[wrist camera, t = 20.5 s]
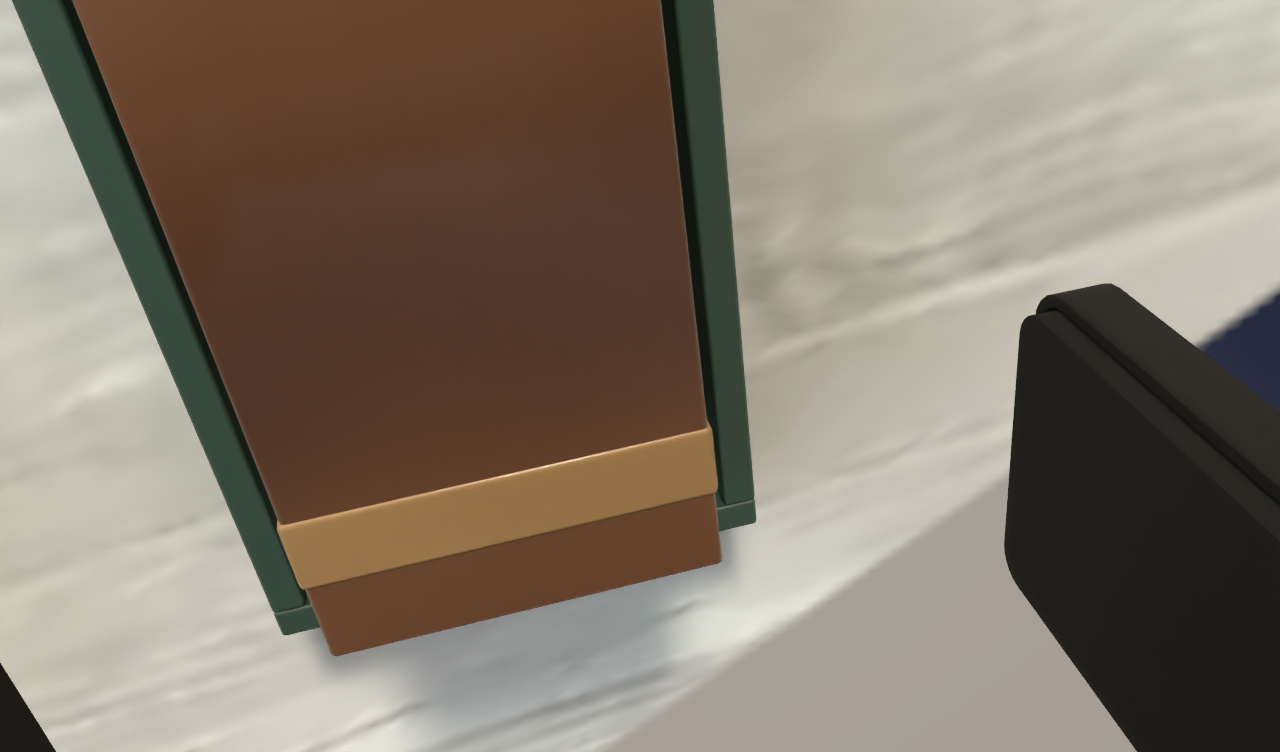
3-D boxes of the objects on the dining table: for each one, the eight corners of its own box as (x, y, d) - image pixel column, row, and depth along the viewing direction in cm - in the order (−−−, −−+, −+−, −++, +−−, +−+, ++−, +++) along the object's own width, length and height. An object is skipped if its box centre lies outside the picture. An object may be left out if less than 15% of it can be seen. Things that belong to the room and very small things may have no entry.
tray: (729, 464, 23) (757, 524, 21) (289, 567, 22) (282, 637, 20) (633, -522, 14) (668, -553, 12) (-113, -429, 13) (-184, -449, 11)
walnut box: (108, -200, 14) (-4, -165, 10) (561, -268, 15) (640, -263, 11) (336, 463, 20) (327, 663, 16) (654, 392, 21) (727, 565, 17)
